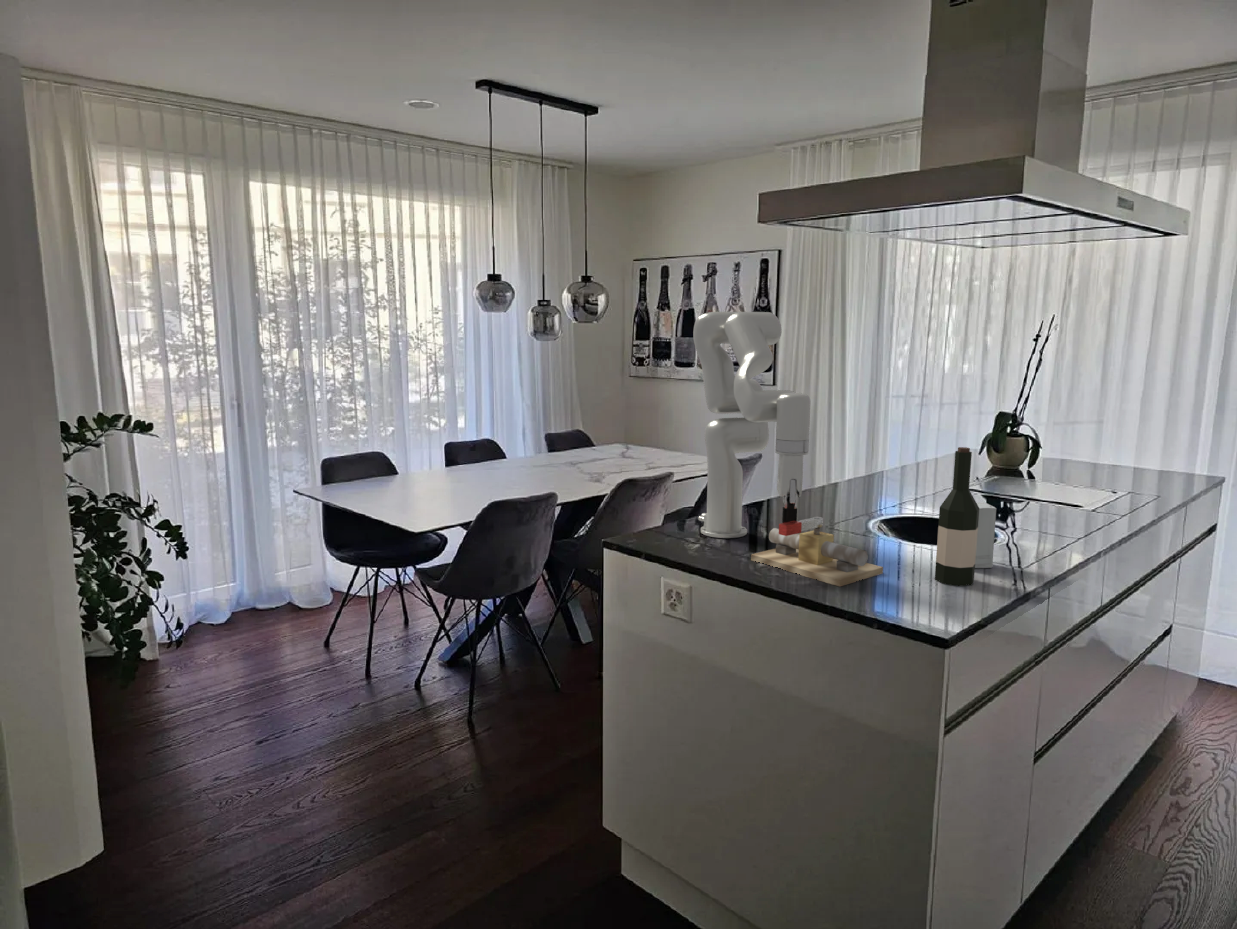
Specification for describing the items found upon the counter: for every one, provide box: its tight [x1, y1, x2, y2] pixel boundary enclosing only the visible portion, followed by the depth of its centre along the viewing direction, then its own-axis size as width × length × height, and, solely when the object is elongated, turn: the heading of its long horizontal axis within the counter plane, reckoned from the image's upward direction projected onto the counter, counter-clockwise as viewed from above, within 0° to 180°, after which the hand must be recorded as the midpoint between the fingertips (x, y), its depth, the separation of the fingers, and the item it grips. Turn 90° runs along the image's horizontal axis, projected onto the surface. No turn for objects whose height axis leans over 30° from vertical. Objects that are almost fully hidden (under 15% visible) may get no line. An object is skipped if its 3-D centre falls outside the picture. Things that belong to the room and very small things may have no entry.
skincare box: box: [975, 501, 997, 569], centre depth 196 cm, size 8×6×15 cm
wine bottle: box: [934, 446, 979, 587], centre depth 183 cm, size 8×8×30 cm
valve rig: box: [750, 527, 884, 587], centre depth 195 cm, size 26×16×10 cm, turn 38°
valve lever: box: [778, 516, 824, 536], centre depth 191 cm, size 3×14×2 cm, turn 128°
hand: (789, 524), depth 194 cm, fingers closed
